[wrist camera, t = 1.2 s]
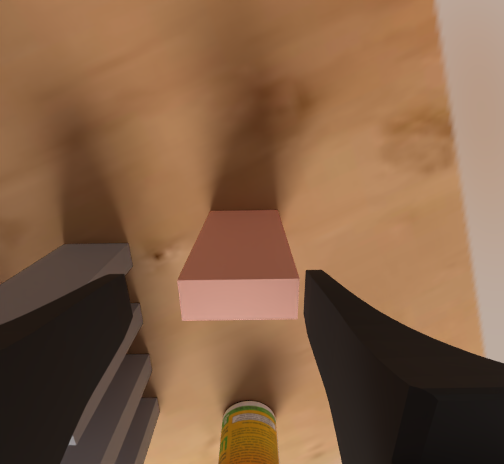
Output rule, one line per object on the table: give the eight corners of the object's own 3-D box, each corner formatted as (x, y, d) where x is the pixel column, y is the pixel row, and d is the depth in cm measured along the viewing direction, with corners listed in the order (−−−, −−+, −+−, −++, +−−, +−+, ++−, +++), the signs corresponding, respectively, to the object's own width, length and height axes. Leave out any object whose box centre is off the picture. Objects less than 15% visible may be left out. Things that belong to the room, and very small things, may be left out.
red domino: (277, 235, 22) (297, 319, 12) (211, 236, 22) (182, 320, 12) (277, 209, 21) (299, 278, 11) (210, 210, 21) (177, 280, 11)
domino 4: (159, 412, 28) (114, 553, 19) (110, 412, 28) (41, 554, 19) (157, 397, 28) (109, 537, 18) (106, 398, 28) (32, 538, 18)
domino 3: (152, 370, 26) (97, 505, 17) (98, 371, 26) (15, 506, 17) (149, 353, 26) (90, 485, 16) (94, 354, 26) (4, 486, 16)
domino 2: (143, 322, 24) (76, 445, 15) (85, 323, 24) (-17, 446, 15) (139, 303, 24) (67, 419, 14) (80, 304, 24) (-31, 420, 14)
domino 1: (132, 266, 22) (48, 366, 13) (70, 267, 22) (-59, 368, 13) (128, 243, 22) (36, 332, 12) (64, 244, 22) (-78, 333, 12)
